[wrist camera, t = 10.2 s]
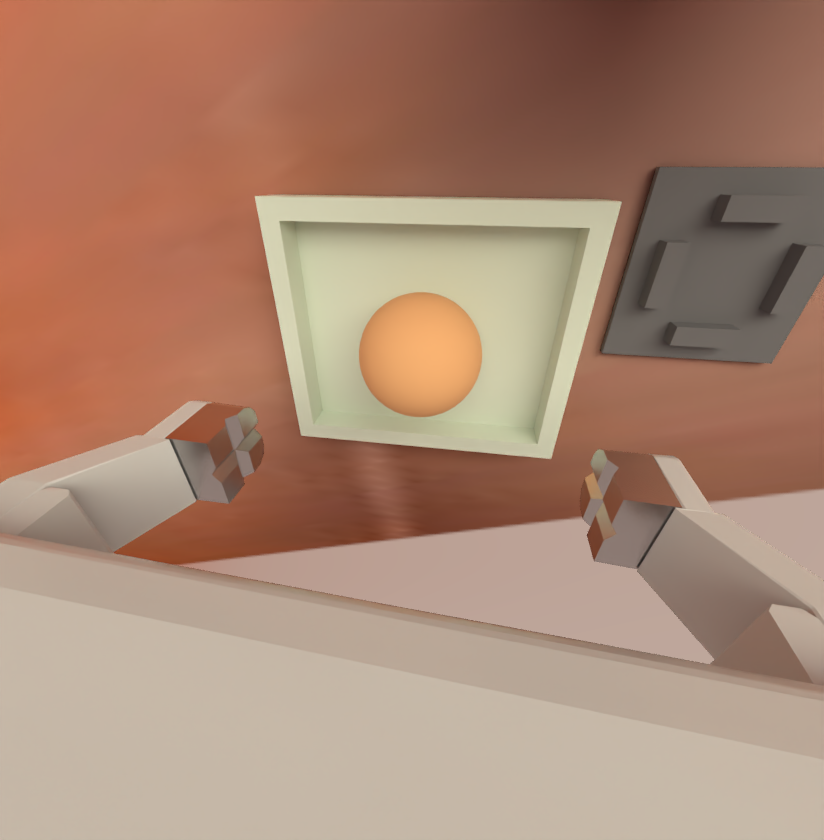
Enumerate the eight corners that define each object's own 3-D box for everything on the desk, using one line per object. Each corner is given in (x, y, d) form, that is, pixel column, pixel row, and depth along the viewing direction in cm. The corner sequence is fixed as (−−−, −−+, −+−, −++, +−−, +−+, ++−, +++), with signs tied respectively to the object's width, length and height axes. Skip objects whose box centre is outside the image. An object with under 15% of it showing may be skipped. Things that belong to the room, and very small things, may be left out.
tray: (604, 199, 14) (621, 201, 12) (544, 435, 20) (551, 459, 18) (278, 194, 15) (254, 195, 14) (314, 415, 21) (301, 435, 20)
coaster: (878, 168, 12) (907, 167, 12) (766, 360, 16) (782, 370, 15) (656, 166, 13) (668, 166, 12) (600, 350, 17) (606, 359, 16)
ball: (490, 282, 15) (488, 318, 11) (477, 388, 18) (472, 448, 14) (374, 276, 16) (334, 308, 12) (379, 378, 19) (347, 433, 15)
